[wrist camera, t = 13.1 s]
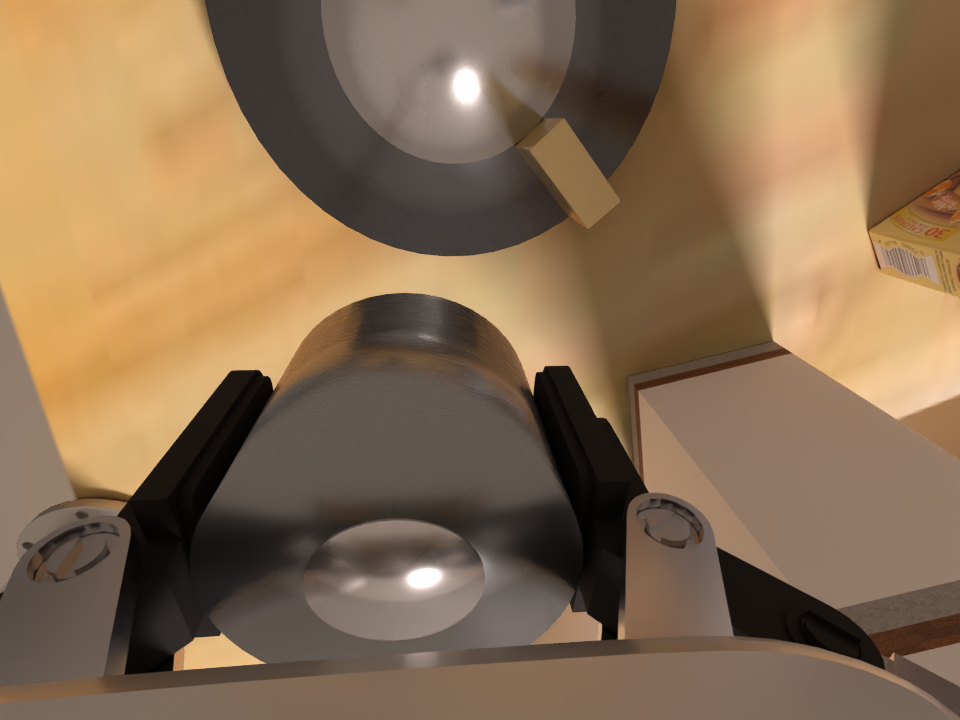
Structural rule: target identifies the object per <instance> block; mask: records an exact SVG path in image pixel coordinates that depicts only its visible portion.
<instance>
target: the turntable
mask: <svg viewBox="0 0 960 720" xmlns="http://www.w3.org/2000/svg"><path fill="white" fill-rule="evenodd" d="M206 6H207V11H208V15H209V20H210V24H211V29H212V33H213V38H214V42H215V45H216V48H217V51H218V54H219V57H220V60H221V63H222V66H223V69H224V72H225V75H226V78H227V80H228V82H229V85H230V87H231V89H232V91H233V93H234V96H235V98H236V100H237V102H238V104H239V106H240V109H241V111H242V113H243V114H244V116H245V118H246V119H247V121H248V123H249V124H250V126H251V128H252V130H253V131H254V133H255V135H256V136H257V138H258V140H259V141H260V143H261V144H262V145H263V147H264V148H265V149H266V151H267V152H268V153H269V155H270V156H271V158H272V159H273V160H274V162H275V163H276V164H277V166H278V167H279V168H280V169H281V170H282V171H283V172H284V174H285V175H286V176H287V177H288V178H289V179H290V180H291V181H292V182H293V183H294V184H295V185H296V186H297V188H298V189H299V190H300V191H301V192H303V193H304V194H305V195H306V196H307V197H308V198H309V199H311V200H312V201H313V202H314V203H315V204H316V205H318V206H319V207H320V208H321V209H322V210H324V211H325V212H326V213H328V214H329V215H331V216H332V217H334V218H335V219H337V220H338V221H340V222H341V223H343V224H344V225H346V226H347V227H349V228H351V229H353V230H355V231H357V232H359V233H361V234H363V235H365V236H367V237H369V238H370V239H373V240H376V241H378V242H381V243H384V244H386V245H389V246H392V247H395V248H398V249H403V250H407V251H411V252H415V253H420V254H429V255H438V256H469V255H476V254H482V253H488V252H494V251H498V250H501V249H504V248H508V247H511V246H515V245H518V244H520V243H522V242H525V241H527V240H529V239H531V238H534V237H536V236H538V235H540V234H542V233H544V232H545V231H547V230H549V229H550V228H552V227H554V226H555V225H557V224H559V223H560V222H562V221H563V220H565V219H566V218H567V217H568V216H569V217H571V218H572V219H574V220H575V221H577V222H578V223H580V224H581V225H583V226H584V227H586V228H587V229H589V228H591V227H592V226H593V225H594V224H595V223H596V222H598V221H599V220H600V219H601V218H602V217H603V216H605V215H606V214H607V213H608V212H609V211H610V210H612V209H613V208H614V207H615V206H616V205H617V204H619V203H620V202H621V200H620V199H619V197H618V196H617V195H616V193H615V192H614V190H613V189H612V187H611V186H610V184H609V183H608V181H607V180H608V178H609V177H610V176H611V175H612V173H613V172H614V171H615V170H616V168H617V167H618V166H619V165H620V163H621V162H622V160H623V159H624V157H625V155H626V154H627V152H628V151H629V149H630V148H631V146H632V144H633V143H634V141H635V140H636V138H637V136H638V134H639V132H640V130H641V128H642V126H643V124H644V122H645V120H646V118H647V116H648V114H649V112H650V109H651V107H652V104H653V101H654V99H655V96H656V93H657V91H658V88H659V85H660V83H661V79H662V76H663V72H664V68H665V64H666V60H667V57H668V53H669V49H670V43H671V37H672V31H673V24H674V18H675V9H676V0H206Z"/></svg>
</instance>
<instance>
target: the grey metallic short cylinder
mask: <svg viewBox="0 0 960 720" xmlns="http://www.w3.org/2000/svg"><path fill="white" fill-rule="evenodd" d="M583 558H584V553H583V540H582V536H581V532H580V529H579V525H578V522H577V519H576V516H575V513H574V510H573V508H572V505H571V502H570V499H569V496H568V494H567V491H566V488H565V485H564V482H563V479H562V477H561V474H560V471H559V468H558V465H557V463H556V460H555V457H554V454H553V451H552V449H551V446H550V443H549V440H548V437H547V434H546V432H545V429H544V426H543V423H542V420H541V418H540V415H539V412H538V409H537V406H536V404H535V401H534V398H533V395H532V392H531V389H530V387H529V384H528V381H527V378H526V375H525V373H524V370H523V367H522V364H521V362H520V360H519V358H518V356H517V354H516V352H515V350H514V349H513V347H512V346H511V344H510V343H509V341H508V340H507V339H506V337H505V336H504V335H503V334H502V333H501V332H500V331H499V330H498V329H497V328H496V327H495V326H494V325H493V324H492V323H490V322H489V321H488V320H487V319H486V318H484V317H482V316H481V315H479V314H478V313H476V312H475V311H473V310H471V309H469V308H467V307H465V306H463V305H461V304H458V303H456V302H453V301H450V300H447V299H444V298H441V297H435V296H430V295H425V294H413V293H397V294H385V295H380V296H374V297H369V298H366V299H363V300H360V301H357V302H354V303H352V304H350V305H347V306H345V307H343V308H341V309H339V310H337V311H336V312H334V313H333V314H331V315H330V316H328V317H327V318H325V319H324V320H323V321H322V322H320V323H319V324H318V325H317V326H316V327H315V328H314V329H312V331H311V332H310V333H309V334H308V335H307V337H306V338H305V339H304V340H303V341H302V343H301V345H300V346H299V348H298V350H297V351H296V353H295V355H294V357H293V358H292V360H291V362H290V363H289V365H288V367H287V369H286V370H285V372H284V374H283V376H282V377H281V379H280V381H279V383H278V384H277V386H276V388H275V389H274V391H273V393H272V395H271V396H270V398H269V400H268V402H267V403H266V405H265V407H264V409H263V410H262V412H261V414H260V416H259V417H258V419H257V421H256V422H255V424H254V426H253V428H252V429H251V431H250V433H249V435H248V436H247V438H246V440H245V442H244V443H243V445H242V447H241V448H240V450H239V452H238V454H237V455H236V457H235V459H234V461H233V462H232V464H231V466H230V468H229V469H228V471H227V473H226V475H225V476H224V478H223V480H222V481H221V483H220V485H219V487H218V488H217V490H216V492H215V494H214V495H213V497H212V499H211V501H210V502H209V504H208V506H207V507H206V509H205V511H204V513H203V514H202V516H201V518H200V520H199V521H198V524H197V527H196V529H195V532H194V535H193V538H192V541H191V548H190V555H189V565H190V577H191V581H192V584H193V588H194V591H195V595H196V596H197V598H198V600H199V602H200V604H201V606H202V608H203V610H204V612H205V613H206V614H207V616H208V617H209V618H210V620H211V621H212V622H213V624H214V625H215V626H216V627H217V628H218V629H219V630H220V631H221V632H222V633H223V634H224V635H225V636H226V637H227V638H228V639H229V640H231V641H232V642H233V643H234V644H236V645H237V646H238V647H240V648H241V649H242V650H244V651H245V652H247V653H249V654H250V655H252V656H254V657H255V658H257V659H259V660H260V661H263V662H265V663H267V664H270V663H284V662H298V661H311V660H325V659H339V658H352V657H366V656H380V655H394V654H408V653H422V652H436V651H450V650H464V649H479V648H494V647H509V646H524V645H530V644H531V643H533V642H534V641H535V640H536V639H537V638H539V637H540V636H541V635H542V634H543V633H544V632H546V631H547V630H548V629H549V628H550V627H551V625H553V624H554V622H555V621H556V620H557V619H558V618H559V617H560V616H561V614H562V613H563V611H564V610H565V609H566V607H567V606H568V604H569V603H570V601H571V599H572V597H573V595H574V593H575V591H576V589H577V586H578V583H579V580H580V577H581V573H582V566H583Z"/></svg>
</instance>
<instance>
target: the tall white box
mask: <svg viewBox="0 0 960 720" xmlns="http://www.w3.org/2000/svg"><path fill="white" fill-rule="evenodd" d="M627 378H628V391H629V404H630V418H631V431H632V444H633V457H634V467H635V469H636V470H637V472H638V474H639V476H640V477H641V479H642V481H643V483H644V484H645V486H646V488H647V490H648V491H649V493H654V492H655V493H664V494H669V495H672V496H675V497H678V498H681V499H682V500H684V501H686V502H688V503H690V504H692V505H693V506H694V507H695V508H697V509H698V510H699V511H700V512H702V514H703V515H704V516H705V517H706V519H707V520H708V521H709V523H710V525H711V528H712V530H713V533H714V538H715V543H716V546H717V547H719V548H720V549H722V550H724V551H726V552H728V553H730V554H732V555H734V556H736V557H738V558H740V559H742V560H743V561H745V562H747V563H749V564H751V565H753V566H755V567H757V568H759V569H761V570H763V571H764V572H766V573H768V574H770V575H772V576H774V577H776V578H778V579H780V580H782V581H784V582H786V583H787V584H789V585H791V586H793V587H795V588H797V589H799V590H801V591H803V592H805V593H807V594H809V595H810V596H812V597H814V598H816V599H818V600H820V601H822V602H824V603H826V604H828V605H830V606H831V607H833V608H835V609H836V610H838V611H840V612H841V613H843V614H844V615H846V616H848V617H849V618H850V619H851V620H852V621H854V622H855V623H856V624H857V625H858V626H859V627H860V628H862V629H863V630H864V631H865V633H866V634H867V635H868V636H869V637H870V639H871V640H872V641H873V642H874V643H875V645H876V646H877V648H878V650H879V652H880V654H882V655H884V656H886V657H887V658H890V657H891V655H892V654H893V653H894V652H895V653H897V654H899V655H900V656H902V657H904V658H906V659H908V660H910V661H912V662H914V663H916V664H918V665H919V666H921V667H923V668H925V669H927V670H929V671H931V672H933V673H935V674H937V675H938V676H940V677H942V678H944V679H946V680H948V681H950V682H952V683H954V684H956V685H957V686H959V687H960V459H958V458H956V457H955V456H953V455H952V454H950V453H949V452H947V451H945V450H944V449H942V448H941V447H939V446H937V445H936V444H934V443H933V442H931V441H930V440H928V439H927V438H925V437H923V436H922V435H920V434H918V433H917V432H915V431H914V430H912V429H911V428H909V427H908V426H906V425H904V424H903V423H901V422H900V421H898V420H897V419H895V418H893V417H892V416H890V415H889V414H887V413H886V412H884V411H882V410H881V409H879V408H878V407H876V406H875V405H873V404H871V403H870V402H868V401H867V400H865V399H864V398H862V397H860V396H859V395H857V394H856V393H854V392H852V391H851V390H849V389H848V388H846V387H845V386H843V385H841V384H840V383H838V382H837V381H835V380H834V379H832V378H830V377H829V376H827V375H826V374H824V373H823V372H821V371H819V370H818V369H816V368H815V367H813V366H812V365H810V364H808V363H807V362H805V361H804V360H802V359H801V358H799V357H797V356H796V355H794V354H793V353H791V352H790V351H788V350H786V349H785V348H783V347H782V346H780V345H778V344H777V343H775V342H774V341H772V342H768V343H764V344H760V345H756V346H752V347H747V348H743V349H739V350H735V351H731V352H727V353H723V354H719V355H715V356H711V357H706V358H702V359H698V360H694V361H690V362H686V363H682V364H678V365H674V366H669V367H665V368H661V369H657V370H653V371H649V372H645V373H641V374H637V375H633V376H628V377H627Z"/></svg>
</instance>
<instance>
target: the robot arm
mask: <svg viewBox="0 0 960 720" xmlns="http://www.w3.org/2000/svg"><path fill="white" fill-rule="evenodd" d="M272 393H273V386H272V382H271V379H270V377H268V376H263V375H262V373H261V372H260V371H259V370H236V371H231V372H230V373H229V374H228V375H227V376H226V378H225V379H224V380H223V381H222V383H221V384H220V385H219V386H218V388H217V389H216V390H215V392H214V393H213V394H212V395H211V397H210V398H209V399H208V400H207V402H206V403H205V404H204V406H203V407H202V408H201V409H200V411H199V412H198V413H197V414H196V416H195V417H194V418H193V420H192V421H191V422H190V423H189V425H188V426H187V427H186V428H185V430H184V431H183V432H182V434H181V435H180V436H179V437H178V439H177V440H176V441H175V442H174V444H173V445H172V446H171V447H170V449H169V450H168V451H167V453H166V454H165V455H164V456H163V458H162V459H161V460H160V461H159V463H158V464H157V465H156V467H155V468H154V469H153V470H152V472H151V473H150V474H149V475H148V477H147V478H146V479H145V481H144V482H143V483H142V484H141V486H140V487H139V488H138V490H137V491H136V492H135V493H134V495H133V496H132V497H131V498H130V500H129V501H128V502H122V501H118V500H108V499H79V500H74V501H68V502H64V503H61V504H58V505H55V506H52V507H50V508H48V509H47V510H45V511H43V512H42V513H40V514H39V515H38V516H37V517H36V518H35V519H34V520H33V521H32V522H31V523H30V524H29V525H27V527H26V528H25V529H24V531H23V532H22V533H21V535H20V537H19V540H18V543H17V556H18V559H19V562H18V563H17V565H16V567H15V568H14V570H13V573H12V575H11V577H10V579H9V580H8V581H7V582H6V583H5V585H4V586H3V587H2V588H1V589H0V720H960V687H959V686H957V685H956V684H954V683H952V682H950V681H948V680H946V679H944V678H942V677H940V676H938V675H937V674H935V673H933V672H931V671H929V670H927V669H925V668H923V667H921V666H919V665H918V664H916V663H914V662H912V661H910V660H908V659H906V658H904V657H902V656H900V655H899V654H897V653H895V652H894V653H893V654H892V655H891V657H890V658H887V657H886V656H884V655H882V654H880V652H879V650H878V648H877V646H876V645H875V643H874V642H873V641H872V640H871V639H870V637H869V636H868V635H867V634H866V633H865V631H864V630H863V629H862V628H860V627H859V626H858V625H857V624H856V623H855V622H854V621H852V620H851V619H850V618H849V617H848V616H846V615H844V614H843V613H841V612H840V611H838V610H836V609H835V608H833V607H831V606H830V605H828V604H826V603H824V602H822V601H820V600H818V599H816V598H814V597H812V596H810V595H809V594H807V593H805V592H803V591H801V590H799V589H797V588H795V587H793V586H791V585H789V584H787V583H786V582H784V581H782V580H780V579H778V578H776V577H774V576H772V575H770V574H768V573H766V572H764V571H763V570H761V569H759V568H757V567H755V566H753V565H751V564H749V563H747V562H745V561H743V560H742V559H740V558H738V557H736V556H734V555H732V554H730V553H728V552H726V551H724V550H722V549H720V548H719V547H717V546H716V543H715V538H714V533H713V530H712V528H711V525H710V523H709V521H708V520H707V519H706V517H705V516H704V515H703V514H702V512H700V511H699V510H698V509H697V508H695V507H694V506H693V505H692V504H690V503H688V502H686V501H684V500H682V499H681V498H678V497H675V496H672V495H669V494H664V493H655V492H654V493H649V491H648V490H647V488H646V486H645V484H644V483H643V481H642V479H641V477H640V476H639V474H638V472H637V470H636V469H635V467H634V465H633V463H632V462H631V460H630V458H629V456H628V455H627V453H626V451H625V449H624V448H623V446H622V444H621V442H620V441H619V439H618V437H617V435H616V434H615V432H614V430H613V428H612V426H611V425H610V423H609V422H608V420H607V419H605V418H597V417H596V415H595V414H594V412H593V410H592V408H591V406H590V404H589V402H588V400H587V399H586V397H585V395H584V393H583V391H582V389H581V387H580V386H579V384H578V382H577V380H576V378H575V376H574V374H573V373H572V371H571V369H570V367H569V366H545V367H544V370H543V372H537V373H536V376H535V385H534V394H533V398H534V401H535V404H536V406H537V409H538V412H539V415H540V418H541V420H542V423H543V426H544V429H545V432H546V434H547V437H548V440H549V443H550V446H551V449H552V451H553V454H554V457H555V460H556V463H557V465H558V468H559V471H560V474H561V477H562V479H563V482H564V485H565V488H566V491H567V494H568V496H569V499H570V502H571V505H572V508H573V510H574V513H575V516H576V519H577V522H578V525H579V529H580V532H581V536H582V540H583V553H584V558H583V566H582V573H581V577H580V580H579V583H578V586H577V589H576V591H575V593H574V595H573V597H572V599H571V601H570V605H571V608H572V612H587V614H588V615H590V616H591V617H593V618H594V619H596V620H597V621H598V622H599V628H598V641H584V642H570V643H554V644H540V645H524V646H509V647H494V648H479V649H464V650H450V651H436V652H422V653H408V654H394V655H380V656H366V657H352V658H339V659H325V660H311V661H298V662H284V663H270V664H257V665H244V666H232V667H219V668H206V669H193V670H183V669H184V646H186V645H187V644H189V643H190V642H191V641H193V639H194V637H210V636H220V634H221V631H220V630H219V629H218V628H217V627H216V626H215V625H214V624H213V622H212V621H211V620H210V618H209V617H208V616H207V614H206V613H205V612H204V610H203V608H202V606H201V604H200V602H199V600H198V598H197V596H196V595H195V591H194V588H193V584H192V581H191V577H190V565H189V555H190V548H191V541H192V538H193V535H194V532H195V529H196V527H197V524H198V521H199V520H200V518H201V516H202V514H203V513H204V511H205V509H206V507H207V506H208V504H209V502H210V501H211V499H212V497H213V495H214V494H215V492H216V490H217V488H218V487H219V485H220V483H221V481H222V480H223V478H224V476H225V475H226V473H227V471H228V469H229V468H230V466H231V464H232V462H233V461H234V459H235V457H236V455H237V454H238V452H239V450H240V448H241V447H242V445H243V443H244V442H245V440H246V438H247V436H248V435H249V433H250V431H251V429H252V428H253V426H254V424H255V422H256V421H257V419H258V417H259V416H260V414H261V412H262V410H263V409H264V407H265V405H266V403H267V402H268V400H269V398H270V396H271V395H272Z"/></svg>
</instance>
